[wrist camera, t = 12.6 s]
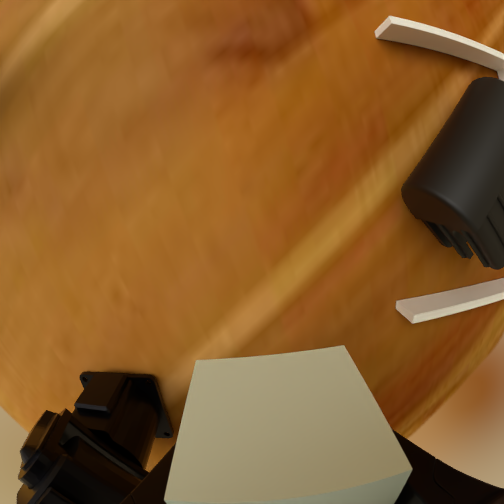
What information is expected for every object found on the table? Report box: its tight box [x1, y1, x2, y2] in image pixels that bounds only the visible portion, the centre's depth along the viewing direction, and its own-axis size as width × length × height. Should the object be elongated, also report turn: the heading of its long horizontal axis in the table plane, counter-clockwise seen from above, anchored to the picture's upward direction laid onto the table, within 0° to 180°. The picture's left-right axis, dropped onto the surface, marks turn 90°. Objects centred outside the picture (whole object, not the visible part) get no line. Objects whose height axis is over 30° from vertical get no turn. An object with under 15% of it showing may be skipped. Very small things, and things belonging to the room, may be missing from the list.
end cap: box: [401, 77, 504, 269], centre depth 14 cm, size 10×7×7 cm
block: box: [164, 345, 412, 504], centre depth 7 cm, size 4×4×5 cm
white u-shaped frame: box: [375, 16, 504, 324], centre depth 15 cm, size 19×13×3 cm
